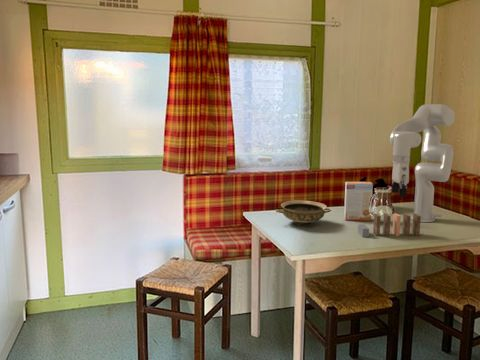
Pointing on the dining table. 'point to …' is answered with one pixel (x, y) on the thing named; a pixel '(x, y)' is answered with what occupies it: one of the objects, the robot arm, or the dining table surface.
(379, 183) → the coal bowl
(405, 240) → the dining table surface
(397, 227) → the terracotta domino
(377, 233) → the walnut domino
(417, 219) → the walnut domino
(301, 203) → the ceramic bowl
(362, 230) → the end block
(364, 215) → the cracker box
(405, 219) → the walnut domino
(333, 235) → the dining table surface
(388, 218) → the walnut domino
